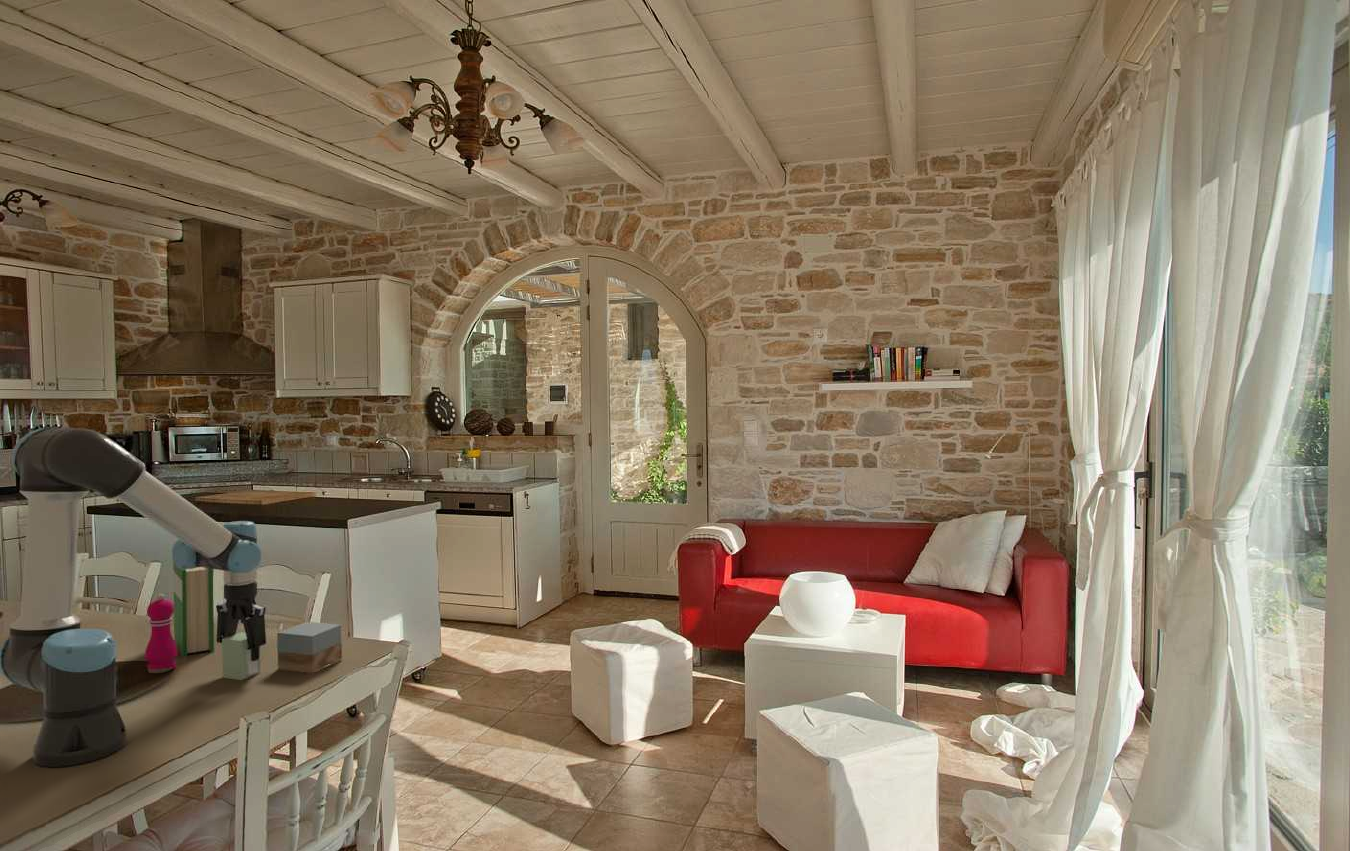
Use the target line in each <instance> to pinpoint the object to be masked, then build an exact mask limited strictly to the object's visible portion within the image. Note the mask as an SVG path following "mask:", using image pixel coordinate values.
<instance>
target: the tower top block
mask: <svg viewBox="0 0 1350 851" xmlns="http://www.w3.org/2000/svg"><path fill="white" fill-rule="evenodd" d="M276 636H277V637H276V639H277V643H276V645H277V646H276V648H277V653H278V652H285V653H295V654H304V655H315V654H317V653H319V652H322V651H324V650H326V649H329V648H331V647H333V646H336V645H338V644H340V643H342V624H336V623H325V622H315V621H314V622H313V621H305V622H303V623H300V624H296V625H294V626H292V627H289V628H287V629H284V630H281V631H277V634H276Z"/></svg>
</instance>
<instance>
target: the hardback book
mask: <svg viewBox="0 0 1350 851" xmlns="http://www.w3.org/2000/svg"><path fill="white" fill-rule="evenodd" d="M172 565H173V566H172V567H173V576H172V577H173V605H174V612H173V630H174V631H173V632H174V634H173V635H174V636H173V637H174V638H173V640H174V641H175V643H176V646H177V650H178V652H180V654H181V656H182V658H186V657H188V654H191V653H197V652H203V651H204V652H205V651H209V653H214V652H215V639H214V638H215V635H214V634H215V633H214V632H215V631H214V630H215V628H214V627H215V625H214V624H215V622H214V617H215V616H214V569H211V568H205V567H197V568H194V569H180V568H178V567H177V566H176V565H175V563H174V561H173V562H172Z"/></svg>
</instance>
